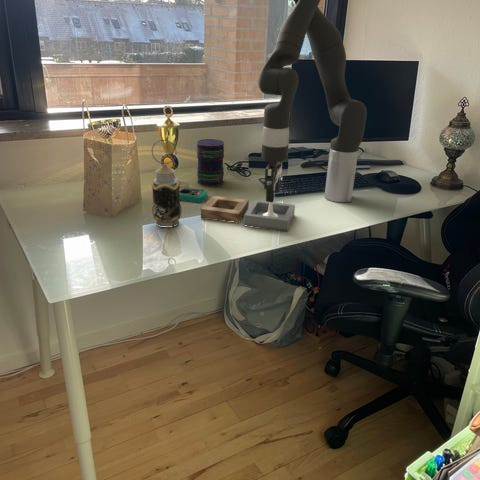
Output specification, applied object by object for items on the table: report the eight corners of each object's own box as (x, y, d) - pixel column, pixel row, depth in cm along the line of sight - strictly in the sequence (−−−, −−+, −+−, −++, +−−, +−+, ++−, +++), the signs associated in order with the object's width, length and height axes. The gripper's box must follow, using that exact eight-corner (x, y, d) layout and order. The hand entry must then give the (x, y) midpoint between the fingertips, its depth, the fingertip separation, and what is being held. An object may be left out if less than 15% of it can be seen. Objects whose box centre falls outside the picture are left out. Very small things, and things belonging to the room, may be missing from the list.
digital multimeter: (202, 204, 152) (202, 196, 151) (160, 199, 155) (160, 191, 154) (209, 197, 158) (209, 189, 157) (168, 192, 161) (168, 184, 160)
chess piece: (273, 222, 137) (275, 190, 133) (258, 218, 139) (260, 187, 135) (280, 217, 141) (283, 186, 136) (266, 213, 143) (268, 182, 139)
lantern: (151, 229, 132) (145, 143, 121) (153, 218, 139) (148, 136, 129) (181, 228, 133) (179, 143, 122) (182, 217, 140) (180, 136, 129)
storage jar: (195, 178, 174) (194, 139, 168) (220, 177, 176) (221, 138, 170) (199, 187, 166) (199, 146, 159) (226, 185, 168) (226, 145, 161)
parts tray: (294, 215, 144) (295, 204, 143) (286, 231, 133) (287, 220, 132) (254, 210, 147) (254, 199, 146) (243, 225, 136) (244, 215, 135)
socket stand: (248, 208, 148) (248, 200, 147) (238, 223, 138) (238, 213, 136) (213, 204, 151) (213, 195, 150) (200, 217, 141) (200, 208, 139)
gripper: (284, 150, 122) (280, 206, 130) (292, 137, 135) (288, 190, 142) (256, 147, 124) (254, 203, 131) (267, 135, 136) (265, 187, 144)
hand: (272, 196), depth 137 cm, fingers open, 8 cm apart
